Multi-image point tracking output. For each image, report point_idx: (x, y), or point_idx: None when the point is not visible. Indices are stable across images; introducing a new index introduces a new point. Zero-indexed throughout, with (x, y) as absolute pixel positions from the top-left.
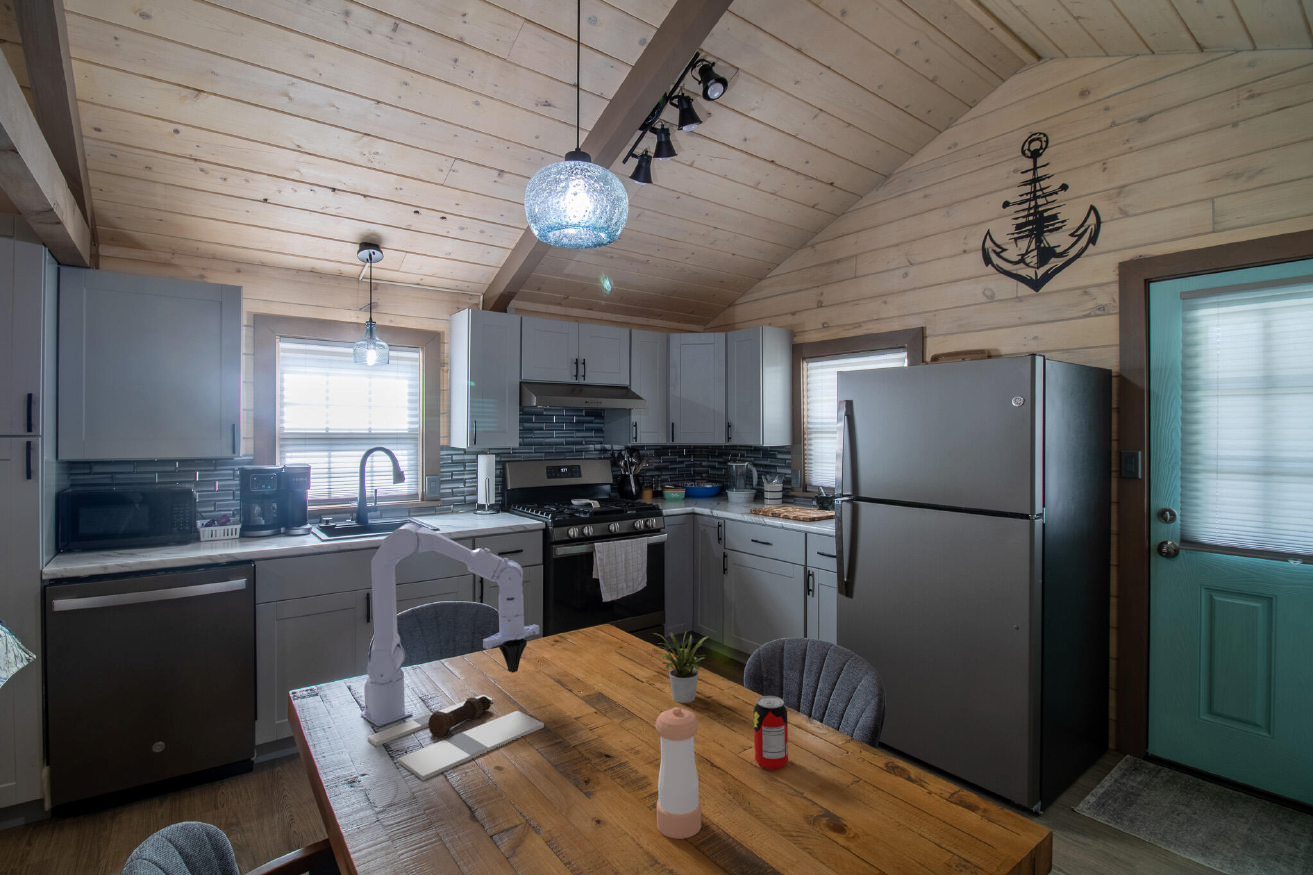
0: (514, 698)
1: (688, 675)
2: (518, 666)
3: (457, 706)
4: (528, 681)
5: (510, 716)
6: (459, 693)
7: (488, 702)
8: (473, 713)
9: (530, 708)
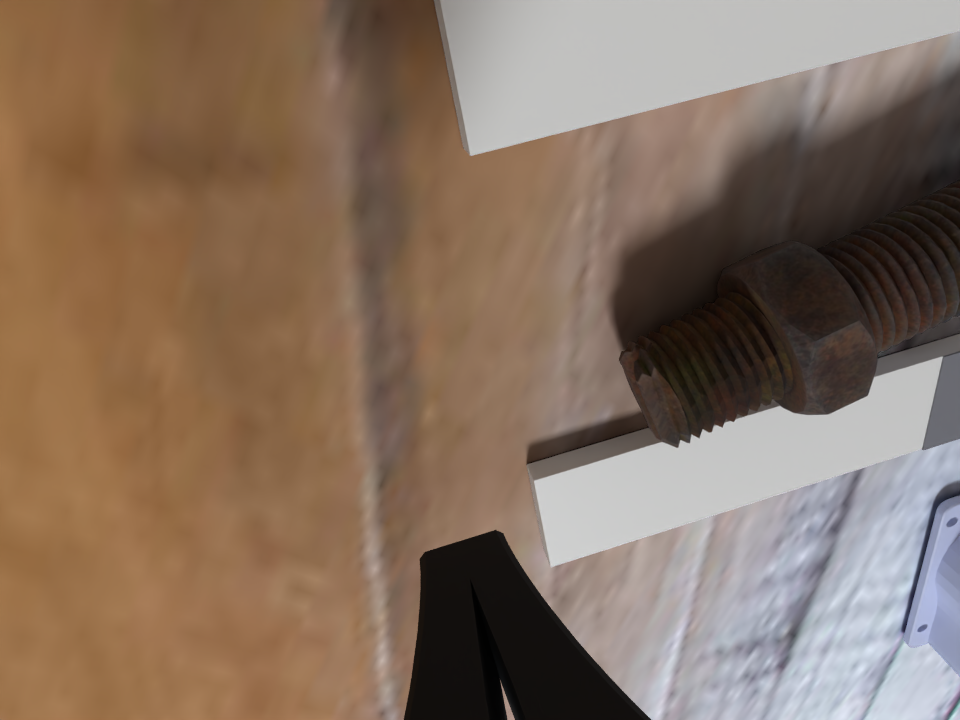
0: (362, 453)
1: None
2: (422, 602)
3: (762, 472)
4: (161, 666)
5: (578, 60)
6: (622, 646)
7: (667, 356)
8: (825, 253)
9: (306, 193)
